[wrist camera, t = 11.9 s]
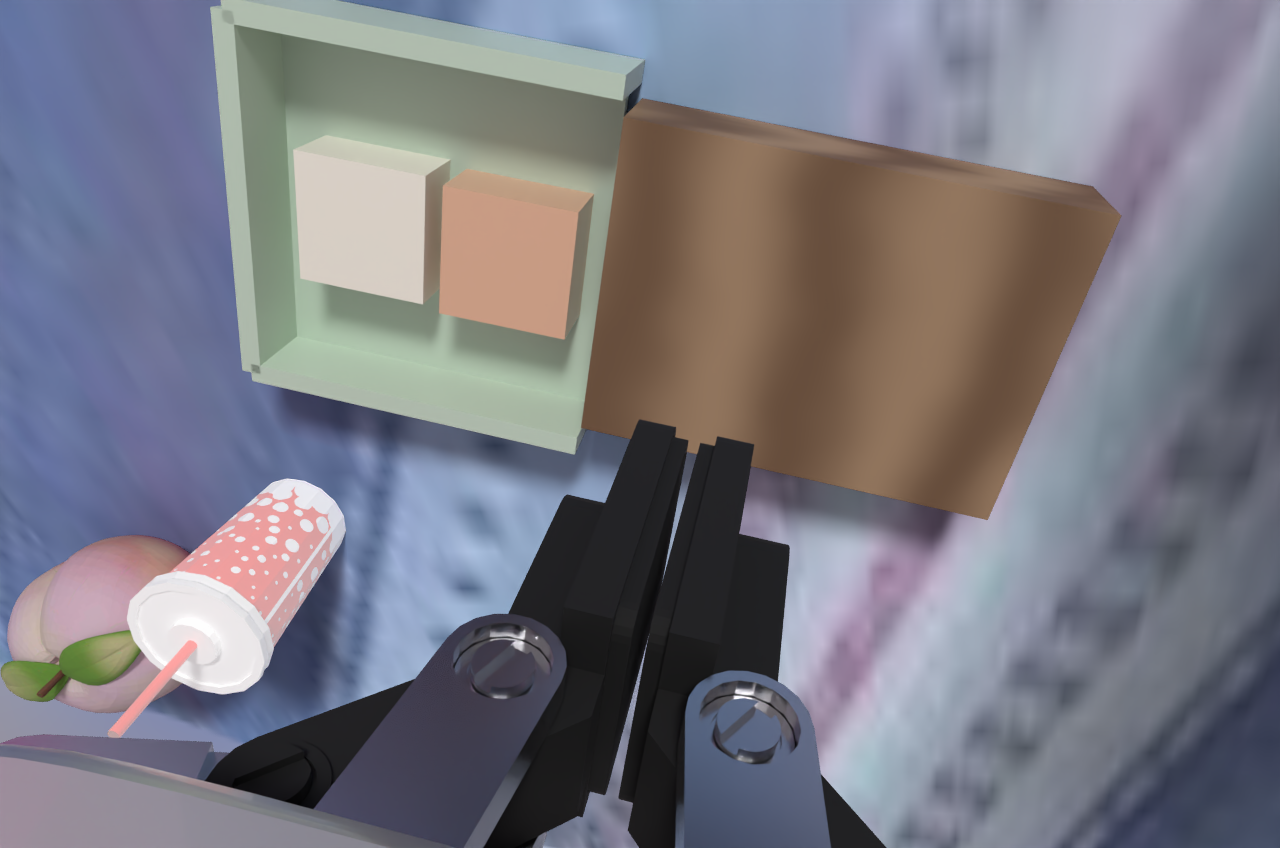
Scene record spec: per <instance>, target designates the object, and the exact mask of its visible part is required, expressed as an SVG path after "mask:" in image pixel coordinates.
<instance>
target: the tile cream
mask: <svg viewBox="0 0 1280 848" xmlns="http://www.w3.org/2000/svg"><path fill="white" fill-rule="evenodd" d="M293 155H294V173H295V190H296V208H297V226H298V244H299V262H300V279H305V280H309V281H314V282H319V283H324V284H328V285H333V286H338V287H343V288H347V289H352V290H357V291H361V292H366V293H371V294H376V295H380V296H385V297H390V298H395V299H399V300H404V301H409V302H414V303H418V304H424V303H425V302H426V301H427V300H428V299H429V298H430V297H431V296H432V295H433V294H434V293H435V292H436V291H437V290H438V289H439V288H440V264H441V230H442V197H443V185H444V184H446V183H447V182H449V181H450V163H451V160H450V159H445V158H440V157H435V156H430V155H425V154H420V153H415V152H410V151H405V150H400V149H395V148H389V147H384V146H379V145H374V144H369V143H364V142H359V141H354V140H349V139H344V138H339V137H333V136H328V135H325V136H323V137H321V138H319V139H316V140H314V141H312V142H309V143H307V144H305V145H303V146H300V147H298V148H296V149H294V150H293Z"/></svg>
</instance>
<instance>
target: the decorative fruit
mask: <svg viewBox="0 0 1280 848" xmlns="http://www.w3.org/2000/svg"><path fill="white" fill-rule="evenodd" d="M189 555H190V554H189V553H188V552H187V551H186V550H184V549H183V548H181V547H179V546H178V545H176V544H174V543H171V542H169V541H166V540H163V539H160V538H156V537H151V536H143V535H128V536H118V537H112V538H107V539H103V540H100V541H98V542H95V543H93V544H91V545H89V546H87V547H85V548H83V549H81V550H79V551H78V552H76V553H75V554H74V555H72V556H71V557H70V558H69V559H68V560H67V561H65V562H63V563H61V564H59V565H58V566H56V567H54V568H52V569H51V570H49V571H47V572H46V573H44V574H43V575H41V576H39V577H38V578H37V579H35V580H34V581H33V582H32V583H31V584H30V585H28V586H27V587H26V589H25V590H24V591H23V592H22V593H21V595H20V596H19V598H18V599H17V601H16V603H15V606H14V608H13V610H12V614H11V617H10V621H9V625H8V634H7V640H8V645H9V649H10V652H11V655H12V658H13V661H11V662H7V663H5V664H4V665H3V666H2V668H1V677H2V679H3V680H4V682H5V684H6V687H7V688H8V689H9V690H10V691H12V692H13V693H14V694H15V695H17V696H19V697H21V698H23V699H26V700H30V701H38V702H46V701H50V700H53V699H56V700H58V701H60V702H62V703H64V704H67V705H70V706H72V707H75V708H78V709H81V710H85V711H90V712H95V713H117V712H123V711H127V709H128V708H129V707H130V706H131V705H132V704H133V703H134V701H135V700H136V699H137V698H138V697H139V696H140V695H141V693H142V692H143V691H144V690H145V689H146V688H147V687H148V685H149V684H150V683H151V682H152V681H153V680H154V679H155V678H156V676H157V675H158V674H159V673H160V672H161V671H162V670H160V669H159V668H158V667H157V666H155V665H154V664H153V663H151V662H150V661H149V660H148V658H147V657H146V656H145V654H144V653H143V652H142V651H141V649H140V648H139V647H138V645H137V644H136V643H135V641H134V640H133V637H132V634H131V631H130V628H129V625H128V622H127V615H128V609H129V604H130V600H131V599H132V598H133V597H134V596H135V595H136V594H137V593H138V592H139V591H141V590H142V589H143V588H144V587H145V586H146V585H147V584H148V583H150V582H151V581H152V580H153V579H154V578H155V577H156V576H158V575H163V574H167V573H169V572H171V571H172V570H173V569H174V568H175V567H176V566H177V565H179V564H180V563H181V562H182V561H183V560H184V559H185V558H187V557H188V556H189ZM181 684H182V683H181V682H179V681H176V680H174V679H172V678H171V679H170V680H169V681H168V682H167V683H166V685H165V686H164V687H163V688H162V689H161V690H160V692H159V693H158V694H157V695H156V696H155V697H154V699H153V700H152V701H151V702H153V701H155V700H157V699H159V698H161V697H163V696H164V695H166V694H168V693H170V692H171V691H173V690H174V689H176V688H177V687H178V686H180V685H181Z"/></svg>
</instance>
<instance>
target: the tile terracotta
mask: <svg viewBox="0 0 1280 848" xmlns="http://www.w3.org/2000/svg"><path fill="white" fill-rule="evenodd" d="M593 199H594V194H593V193H588V192H583V191H578V190H573V189H568V188H563V187H558V186H553V185H547V184H542V183H537V182H532V181H527V180H522V179H517V178H512V177H507V176H502V175H497V174H492V173H487V172H482V171H477V170H471V169H466V170H464V171H463V172H461V173H460V174H458V175H457V176H456V177H454V178H453V179H451V180H450V181H449V182H447V183H446V184H444V185H443V197H442V230H441V264H440V297H439V313H441V314H445V315H450V316H455V317H460V318H464V319H469V320H474V321H478V322H483V323H488V324H493V325H497V326H502V327H507V328H512V329H516V330H521V331H526V332H530V333H535V334H540V335H545V336H549V337H554V338H559V339H564V340H565V338H566V336H567V335H568V333H569V331H570V330H571V328H572V327H573V325H574V323H575V322H576V320H577V318H578V317H579V315H580V309H581V301H582V292H583V284H584V275H585V267H586V258H587V250H588V242H589V233H590V225H591V216H592V208H593Z"/></svg>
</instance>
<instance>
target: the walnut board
mask: <svg viewBox="0 0 1280 848" xmlns="http://www.w3.org/2000/svg"><path fill="white" fill-rule="evenodd" d="M1120 218H1121V215H1120V214H1119V213H1118V212H1117V211H1116V210H1115V209H1114V208H1113V207H1112V206H1111V205H1110V204H1109V203H1108V202H1107V201H1106V200H1105V199H1104V197H1103V196H1102V195H1101V194H1100V193H1099V192H1098V191H1097V190H1096V189H1095V188H1094V187H1092V186H1087V185H1082V184H1077V183H1072V182H1067V181H1062V180H1056V179H1051V178H1046V177H1041V176H1036V175H1031V174H1026V173H1021V172H1016V171H1010V170H1005V169H1000V168H995V167H990V166H985V165H980V164H975V163H970V162H965V161H959V160H954V159H949V158H944V157H939V156H934V155H929V154H924V153H919V152H913V151H908V150H903V149H898V148H893V147H888V146H883V145H878V144H873V143H868V142H862V141H857V140H852V139H847V138H842V137H837V136H832V135H827V134H822V133H816V132H811V131H806V130H801V129H796V128H791V127H786V126H781V125H776V124H771V123H765V122H760V121H755V120H750V119H745V118H740V117H735V116H730V115H725V114H719V113H714V112H709V111H704V110H699V109H694V108H689V107H684V106H679V105H674V104H668V103H663V102H658V101H653V100H648V99H643V98H642V99H641V100H640V101H639V102H638V103H637V104H636V105H635V106H634V107H633V108H632V109H631V110H630V111H629V112H628V113H627V114H626V115H625V116H624V117H623V125H622V132H621V139H620V147H619V154H618V161H617V168H616V176H615V183H614V190H613V198H612V205H611V212H610V219H609V227H608V234H607V241H606V249H605V256H604V263H603V270H602V278H601V285H600V292H599V300H598V307H597V314H596V321H595V329H594V336H593V343H592V351H591V358H590V365H589V372H588V380H587V387H586V394H585V402H584V409H583V416H582V423H581V428H584V429H588V430H593V431H597V432H601V433H606V434H610V435H615V436H619V437H623V438H628V439H631V437H632V435H633V432H634V430H635V427H636V425H637V423H638V420H639V419H641V420H646V421H650V422H655V423H659V424H664V425H669V426H673V427H676V435H675V437H677V438H681V439H686V440H689V442H688V448H687V452H690V453H694V454H697V453H698V449H699V446H700V443H704V444H709V445H713V446H715V443H716V439H717V436H719V437H724V438H728V439H733V440H738V441H742V442H747V443H751V444H754V450H753V456H752V462H751V466H752V467H756V468H760V469H765V470H769V471H774V472H778V473H782V474H787V475H791V476H796V477H800V478H805V479H809V480H813V481H818V482H822V483H827V484H831V485H836V486H840V487H844V488H849V489H853V490H858V491H862V492H866V493H871V494H875V495H880V496H884V497H889V498H893V499H897V500H902V501H906V502H911V503H915V504H919V505H924V506H928V507H933V508H937V509H942V510H946V511H950V512H955V513H959V514H964V515H968V516H972V517H977V518H981V519H986V520H988V518H989V516H990V513H991V511H992V509H993V506H994V504H995V502H996V500H997V497H998V495H999V493H1000V491H1001V488H1002V486H1003V484H1004V481H1005V479H1006V477H1007V475H1008V472H1009V470H1010V468H1011V466H1012V463H1013V461H1014V459H1015V456H1016V454H1017V452H1018V450H1019V447H1020V445H1021V443H1022V441H1023V438H1024V436H1025V434H1026V431H1027V429H1028V427H1029V425H1030V422H1031V420H1032V418H1033V416H1034V413H1035V411H1036V409H1037V406H1038V404H1039V402H1040V400H1041V397H1042V395H1043V393H1044V391H1045V388H1046V386H1047V384H1048V381H1049V379H1050V377H1051V375H1052V372H1053V370H1054V368H1055V366H1056V363H1057V361H1058V359H1059V356H1060V354H1061V352H1062V350H1063V347H1064V345H1065V343H1066V341H1067V338H1068V336H1069V334H1070V331H1071V329H1072V327H1073V325H1074V322H1075V320H1076V318H1077V316H1078V313H1079V311H1080V309H1081V306H1082V304H1083V302H1084V300H1085V297H1086V295H1087V293H1088V291H1089V288H1090V286H1091V284H1092V281H1093V279H1094V277H1095V275H1096V272H1097V270H1098V268H1099V266H1100V263H1101V261H1102V259H1103V256H1104V254H1105V252H1106V250H1107V247H1108V245H1109V243H1110V241H1111V238H1112V236H1113V234H1114V231H1115V229H1116V227H1117V225H1118V222H1119V220H1120Z"/></svg>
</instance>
